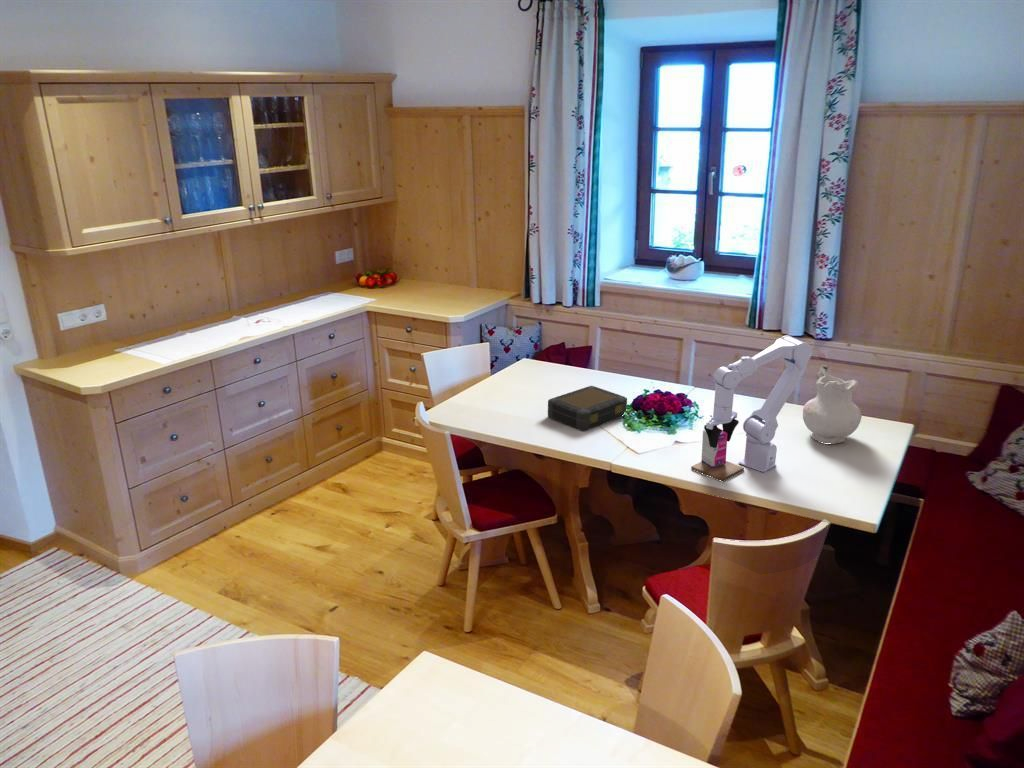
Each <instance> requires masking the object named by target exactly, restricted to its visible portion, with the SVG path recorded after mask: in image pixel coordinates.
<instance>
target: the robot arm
mask: <svg viewBox="0 0 1024 768" xmlns="http://www.w3.org/2000/svg"><path fill="white" fill-rule="evenodd" d="M812 355H813V352H812V348H811V345H810V344H809V343H808V342H806V341H805V342H804V341H802V340H800V339H797V338H795V337H793V336H791V335H788V334H787V335H783V336H781V337H780V338H777V339H776V340H775V342H774V343H773V344H772V345H770V346H768V347H767V348H766V349H764V350H762V351H760V352H759V353H757V354H755V355H754V356H752V357H751V356H748V355H747V356H741V357H740V359H739V360H737V361H735V362H733V363H729V364H728V365H727V366H721V367H718V368H717V369H716V370H715V371H714V373H713V374H712V380H713V382H714V388H715V390H714V402H713V410H712V411H713V412H712V413H711V414H709V416H710V419H709V420H708V421H706V424H705V425H704V427H703V429H704V430H705V431H706V433H707V435H708V439H709V445H710V447H713V448H716V447H717V444H718V439H719V436H720V433H721V432H722V430H723V431H725V432H727V433H728V434H727V443H728V442H730V441H731V438H732V436H733V434H734V430H735V429H736V428H737V426H738V425H739V423H740V422H739V420H738V419H737V418H738V412H737V411H734V410H733V407H734V406H733V405H734V397H735V395H734V394H735V388H736V387H737V386H738V385H739V383H740V382H741V381H742V380H743V379H745V378H746V377H747V378H748V376H751V375H753V374H755V373H756V372H757V370H758V367H760V366H763V365H765V364H767V363H770V362H772V361H773V360H777V359H778V358H779V359H780V358H782V359H783V362H784V364H785V369H784V371H783V372H782V374H781V376H780V377H779V378H778V380H777V381H776V383H775V385H774V387H773V389H772V390H771V392H769V395H768V396H767V398H766V400H765V401H764V403H763V404H762V406H761V408H759V409H756V410H754V411H753V412H752V413H751V414H750V415H749V416H748V417H747V418H746V419H745V420H744V422H743V424H742V429H743V431H744V433H745V437H746V440H745V447H744V449H745V450H744V459H741V460H739V461H738V464H739V465H740V466H741V465H742V466H745V467H747V468H749V469H754V470H756V471H759V472H761V473H766V472H767V471H768V470H771V469H772V468H774V467H775V466H777V464H776V461H777V460H776V458H777V451H778V449H777V445H776V444H775V443H772V440H774V437H775V435H776V431H777V428H778V427H779V423H778V420H777V417H778V415H779V413H780V412H781V410H782V409H783V407H784V406H785V404H786V402H787V400H788V399H789V397H790V396H791V394H792V393H793V392H794V389H795V388H796V386H797V384H798V383H799V381H800V380H801V378H802V376H803V374H804V373H805V371H806V370H807V365H808V363H809V361H810V359H811V357H812ZM719 425H721V426H722V429H721V428H720V429H718V428H719V427H718V426H719Z"/></svg>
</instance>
